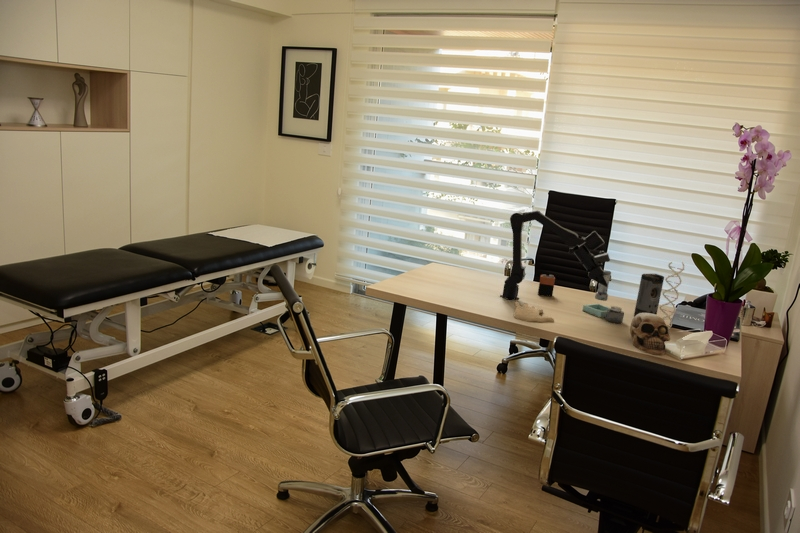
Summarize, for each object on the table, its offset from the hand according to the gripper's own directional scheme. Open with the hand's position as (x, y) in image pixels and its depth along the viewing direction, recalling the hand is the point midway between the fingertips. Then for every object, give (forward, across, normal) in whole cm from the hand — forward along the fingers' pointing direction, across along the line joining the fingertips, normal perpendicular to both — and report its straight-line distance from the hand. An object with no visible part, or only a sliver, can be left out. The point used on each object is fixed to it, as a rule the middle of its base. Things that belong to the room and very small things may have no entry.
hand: (606, 285), depth 269 cm
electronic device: (+23, +5, -3) cm, 23 cm away
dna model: (+27, -13, -7) cm, 31 cm away
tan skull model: (+21, -36, -2) cm, 42 cm away
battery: (-9, +18, +28) cm, 34 cm away
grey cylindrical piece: (+4, 0, +6) cm, 7 cm away
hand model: (-10, -22, +30) cm, 39 cm away
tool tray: (+9, +1, +10) cm, 13 cm away
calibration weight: (+13, -8, +6) cm, 17 cm away
